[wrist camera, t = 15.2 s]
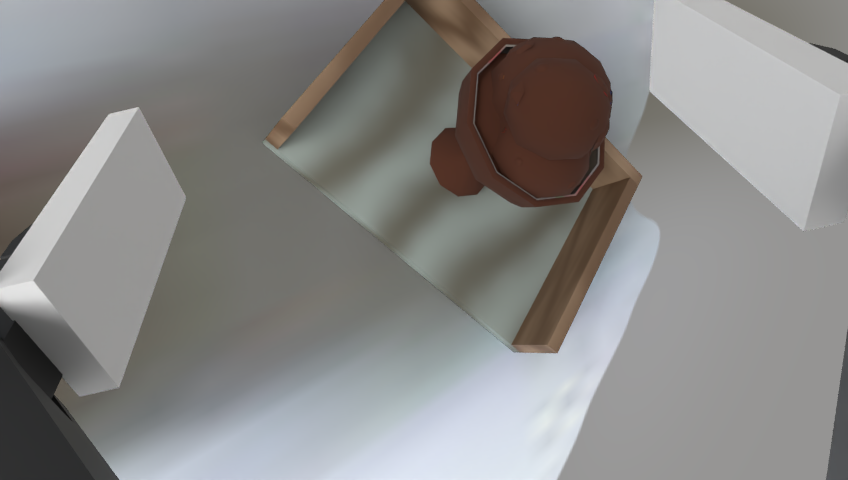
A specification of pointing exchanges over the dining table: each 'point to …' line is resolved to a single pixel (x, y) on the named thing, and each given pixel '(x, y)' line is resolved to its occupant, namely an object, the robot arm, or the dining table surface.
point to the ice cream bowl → (528, 124)
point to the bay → (419, 188)
